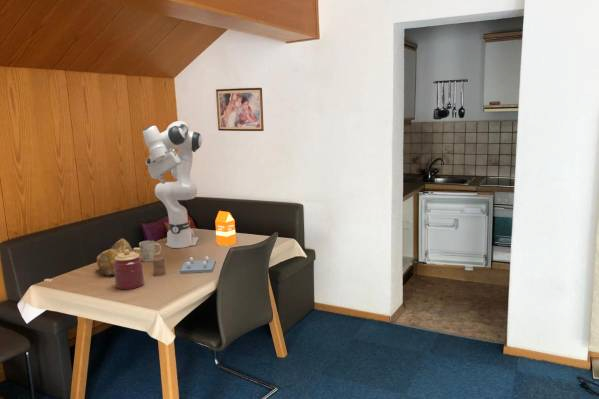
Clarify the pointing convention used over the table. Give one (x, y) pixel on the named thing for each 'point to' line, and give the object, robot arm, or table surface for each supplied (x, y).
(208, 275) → the table surface
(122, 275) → the canister
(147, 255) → the mug
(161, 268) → the walnut block
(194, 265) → the peg seat
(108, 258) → the rough brown rock
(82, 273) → the table surface
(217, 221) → the orange juice
